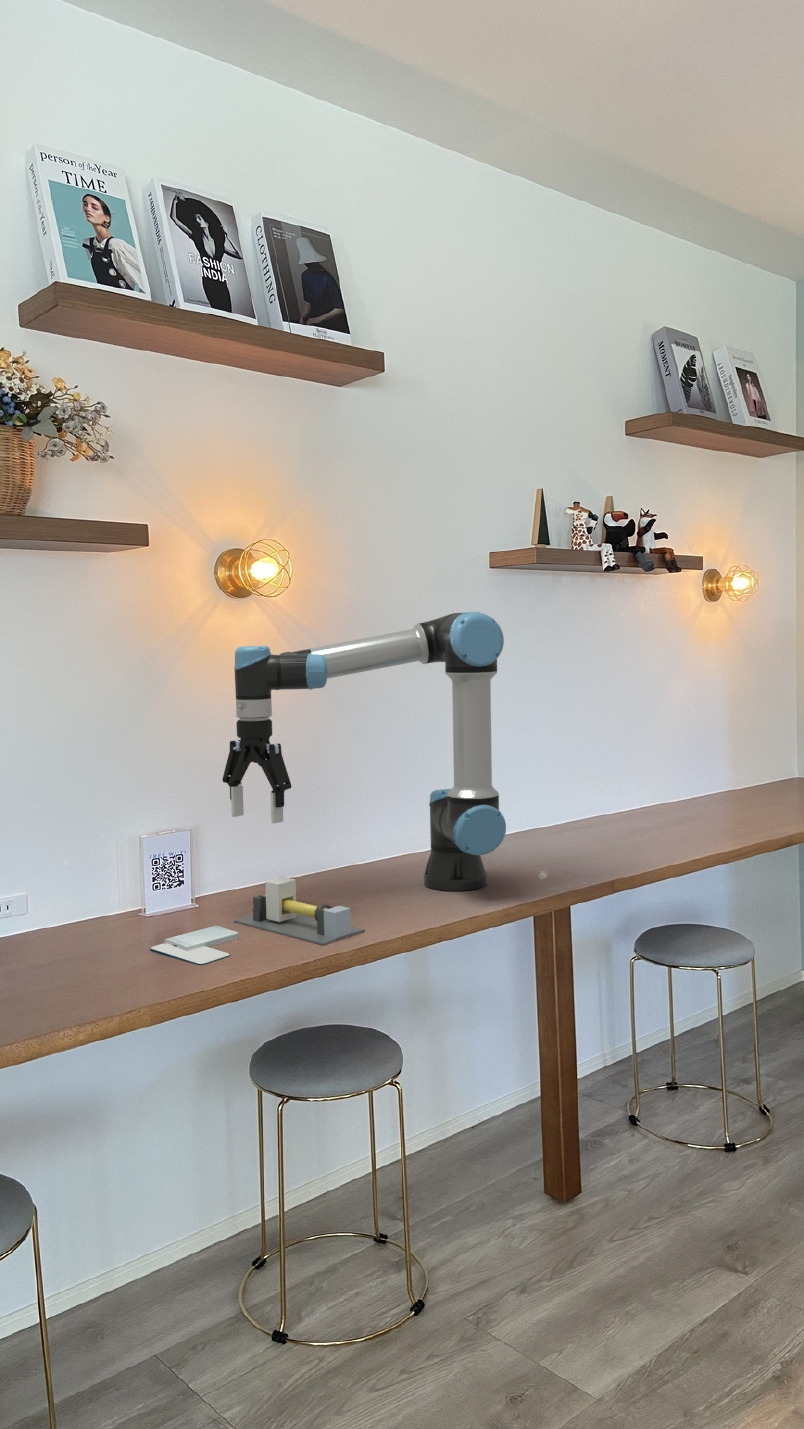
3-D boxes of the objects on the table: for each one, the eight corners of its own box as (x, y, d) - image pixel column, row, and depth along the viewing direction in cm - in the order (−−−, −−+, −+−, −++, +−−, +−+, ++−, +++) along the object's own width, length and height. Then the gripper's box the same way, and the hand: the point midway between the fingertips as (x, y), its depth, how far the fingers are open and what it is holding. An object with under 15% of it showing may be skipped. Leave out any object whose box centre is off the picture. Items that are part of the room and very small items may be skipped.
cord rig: (233, 921, 226) (232, 894, 225) (275, 909, 235) (275, 883, 234) (323, 945, 208) (322, 916, 208) (364, 931, 217) (364, 903, 217)
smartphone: (233, 958, 203) (179, 942, 213) (232, 954, 203) (179, 938, 213) (200, 969, 197) (147, 952, 207) (200, 964, 197) (147, 947, 207)
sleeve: (266, 918, 224) (265, 881, 223) (284, 913, 228) (282, 876, 227) (279, 922, 221) (278, 884, 221) (296, 916, 225) (295, 879, 224)
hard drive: (215, 924, 220) (163, 938, 211) (238, 932, 214) (186, 946, 205) (215, 932, 220) (163, 946, 211) (239, 940, 214) (186, 954, 205)
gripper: (203, 717, 230) (207, 815, 232) (280, 723, 215) (283, 828, 216) (230, 714, 236) (233, 810, 238) (306, 720, 220) (309, 822, 222)
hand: (257, 819), depth 227 cm, fingers open, 12 cm apart
